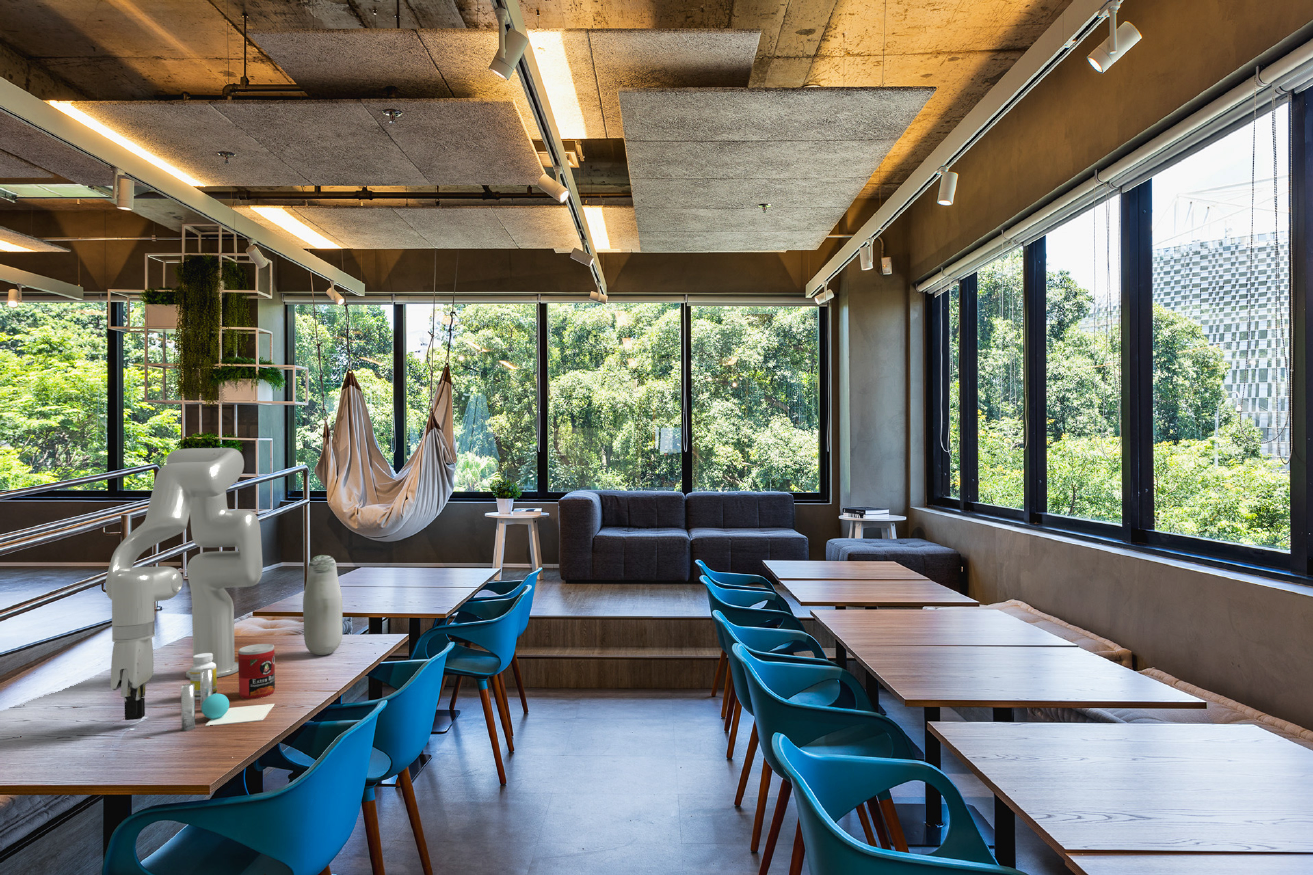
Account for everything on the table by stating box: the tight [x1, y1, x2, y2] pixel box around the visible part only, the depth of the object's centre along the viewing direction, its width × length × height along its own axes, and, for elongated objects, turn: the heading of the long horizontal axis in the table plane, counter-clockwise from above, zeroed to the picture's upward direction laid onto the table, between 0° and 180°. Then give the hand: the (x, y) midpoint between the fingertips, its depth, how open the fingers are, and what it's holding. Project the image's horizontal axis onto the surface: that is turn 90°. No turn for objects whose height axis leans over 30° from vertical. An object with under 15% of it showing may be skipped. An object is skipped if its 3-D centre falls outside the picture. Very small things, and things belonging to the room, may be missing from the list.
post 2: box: [200, 668, 213, 713], centre depth 174 cm, size 2×2×9 cm
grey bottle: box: [302, 554, 343, 656], centre depth 221 cm, size 10×10×28 cm
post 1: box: [180, 683, 196, 732], centre depth 162 cm, size 2×2×9 cm
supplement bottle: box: [189, 653, 218, 701], centre depth 184 cm, size 5×5×10 cm
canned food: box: [237, 643, 276, 700], centre depth 185 cm, size 8×8×11 cm
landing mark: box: [205, 703, 275, 727], centre depth 170 cm, size 11×11×1 cm
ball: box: [201, 693, 230, 720], centre depth 168 cm, size 5×5×5 cm
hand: (134, 717), depth 165 cm, fingers closed
